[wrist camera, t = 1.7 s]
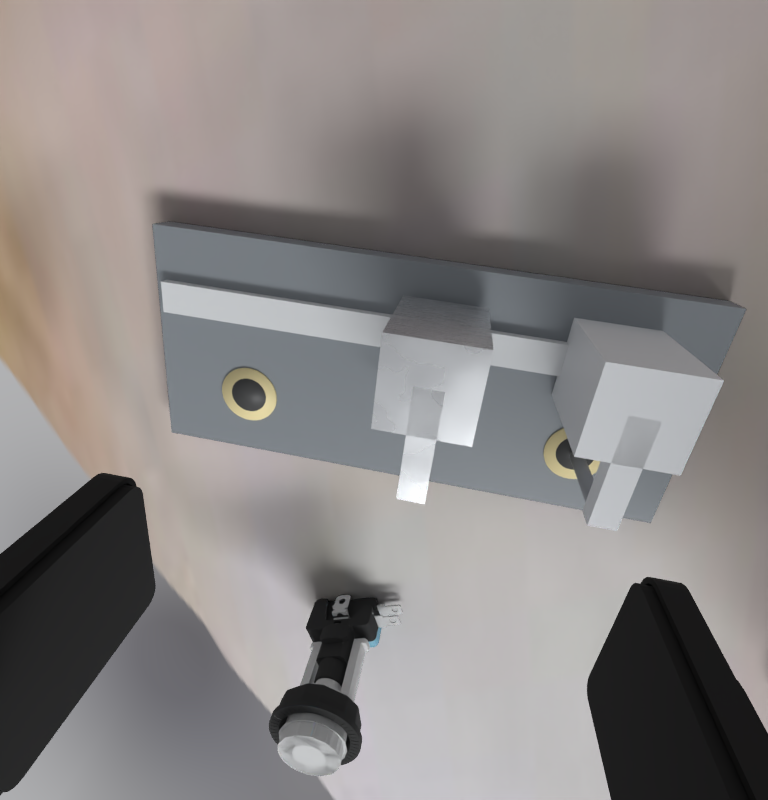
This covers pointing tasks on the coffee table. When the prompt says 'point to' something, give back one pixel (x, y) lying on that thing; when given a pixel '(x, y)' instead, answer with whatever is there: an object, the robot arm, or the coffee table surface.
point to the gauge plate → (507, 379)
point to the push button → (329, 686)
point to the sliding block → (431, 382)
